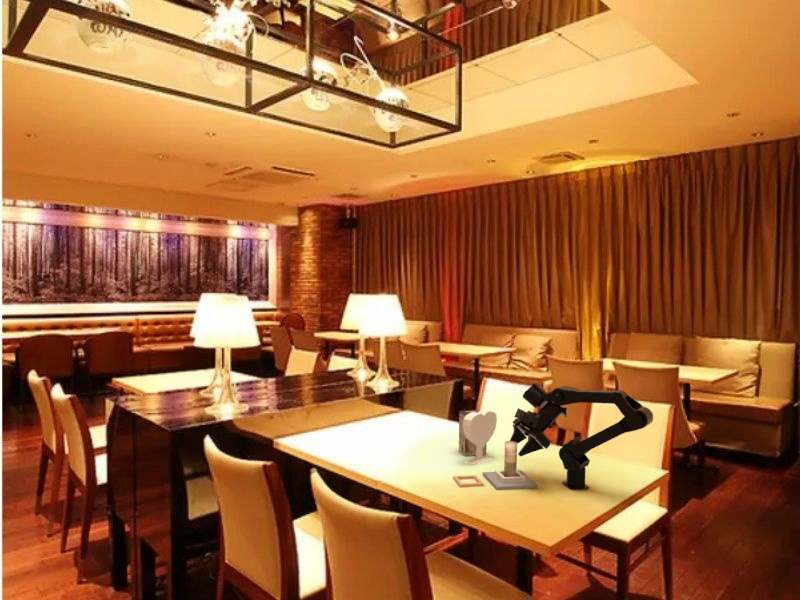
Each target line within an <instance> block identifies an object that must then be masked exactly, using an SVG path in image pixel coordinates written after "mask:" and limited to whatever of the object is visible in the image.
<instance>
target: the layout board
mask: <svg viewBox="0 0 800 600" xmlns="http://www.w3.org/2000/svg"><path fill="white" fill-rule="evenodd" d="M482 476H483V477H484V478H485V479H486V480H487V481H488V483H490V484H491V486H493V488H494V489H495V490H496V489H497V490H496V491H507V490H525V489H539V484H538V483H537V482H536V481H534V479H532V478H531V477H530V476H529V475H527V473H525V472H524V471H523V470H517V469H516V477H504V469H501V470H500V469H499V470H494V471H483V472H482Z"/></svg>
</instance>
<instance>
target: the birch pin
mask: <svg viewBox="0 0 800 600" xmlns="http://www.w3.org/2000/svg"><path fill="white" fill-rule="evenodd" d="M517 458H518V444H517V442H514V441H510V440H506V441H504V461H503V462H504V464H503V465H504V466H503V467H504V468H503V470H504V477H516V470H517V464H518V461H517V460H518V459H517Z"/></svg>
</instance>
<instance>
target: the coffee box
mask: <svg viewBox="0 0 800 600" xmlns="http://www.w3.org/2000/svg"><path fill="white" fill-rule="evenodd" d="M480 410H481V409H475V410H459V411H458V412H459V413H458V414H459V417H458V421H459V422H458V452H459V453H460V454H461V453H462V454H463V456H464V457H471V456H473V455H475V456H476V445H475V444H473V443H472V442H470V441H469V440H468V439H467V438H466V436H465V434H464V431H463V420H464V418H465V416H466V415H468V414H469V413H471V412H476V413H478V412H479V411H480ZM462 454H461V455H462ZM483 455H484V456H487V444H486V445H485V446H484V447H483ZM483 455H482V456H483ZM473 457H474V456H473Z"/></svg>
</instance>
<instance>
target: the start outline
mask: <svg viewBox="0 0 800 600" xmlns="http://www.w3.org/2000/svg"><path fill="white" fill-rule="evenodd" d="M452 479H453V480H454V481H455V483H456V484H457V485H458V487H459V488H466V487H467V488H469V487H473V488H474V487H485V483H484V482H483V481H482V480H481V478H479V476H478V475H477V474H475V475H474V474H472V475H471V474H470V475H468V474H467V475H453V476H452ZM471 479H472V480H473V479H474V480H475V481H476V482H465V483H463V482H462V481H461V480H471Z"/></svg>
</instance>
